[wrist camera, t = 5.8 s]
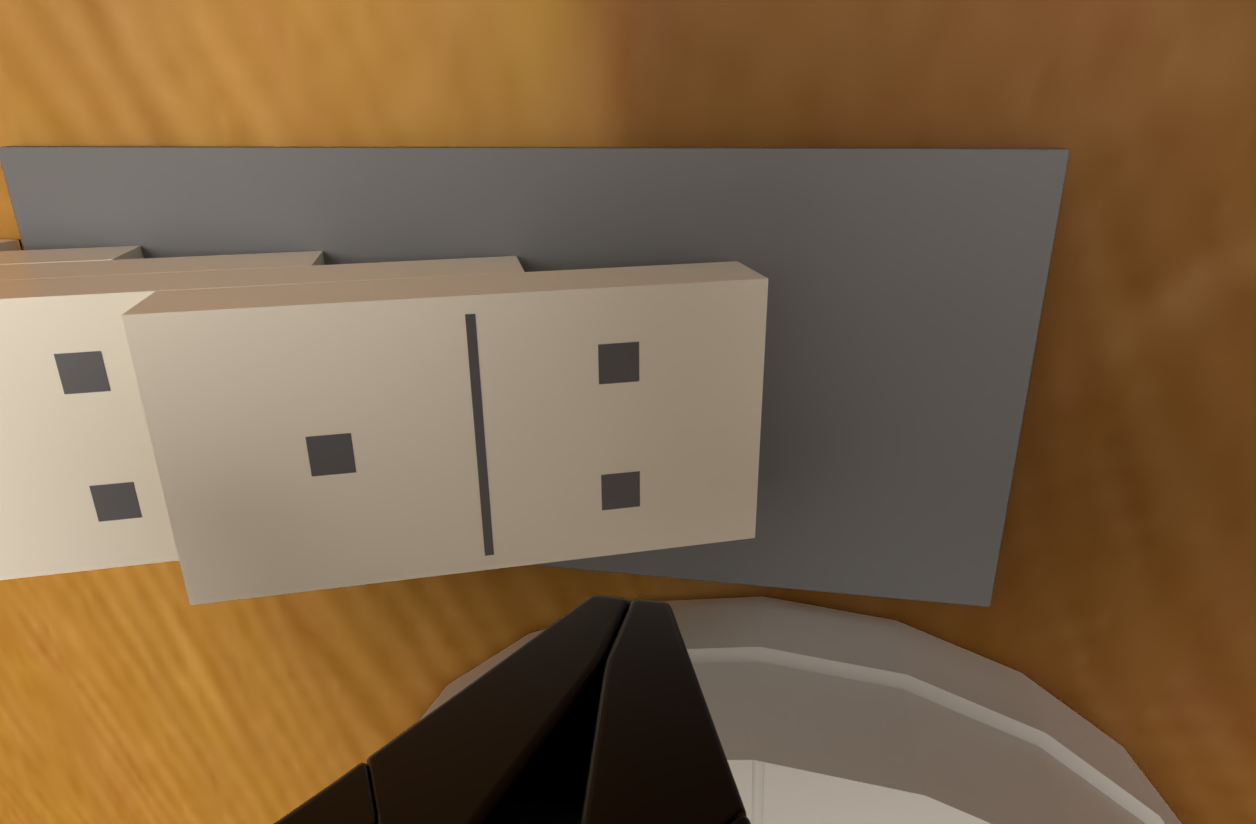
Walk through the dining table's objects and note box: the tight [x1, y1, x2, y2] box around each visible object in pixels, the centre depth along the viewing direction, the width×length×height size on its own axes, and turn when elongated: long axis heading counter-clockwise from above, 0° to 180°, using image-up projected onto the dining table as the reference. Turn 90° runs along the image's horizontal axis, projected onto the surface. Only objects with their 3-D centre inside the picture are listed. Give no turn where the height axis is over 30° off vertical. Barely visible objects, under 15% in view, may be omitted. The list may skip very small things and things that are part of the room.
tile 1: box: [122, 261, 768, 605], centre depth 15 cm, size 2×5×10 cm
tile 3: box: [0, 251, 325, 280], centre depth 16 cm, size 2×5×10 cm
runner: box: [0, 146, 1069, 607], centre depth 17 cm, size 21×9×1 cm, turn 90°
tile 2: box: [0, 256, 524, 580], centre depth 15 cm, size 2×5×10 cm
